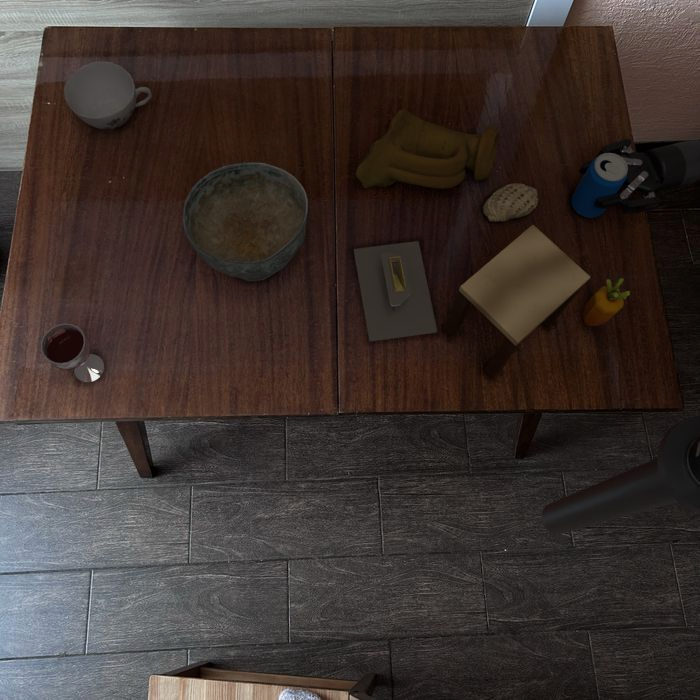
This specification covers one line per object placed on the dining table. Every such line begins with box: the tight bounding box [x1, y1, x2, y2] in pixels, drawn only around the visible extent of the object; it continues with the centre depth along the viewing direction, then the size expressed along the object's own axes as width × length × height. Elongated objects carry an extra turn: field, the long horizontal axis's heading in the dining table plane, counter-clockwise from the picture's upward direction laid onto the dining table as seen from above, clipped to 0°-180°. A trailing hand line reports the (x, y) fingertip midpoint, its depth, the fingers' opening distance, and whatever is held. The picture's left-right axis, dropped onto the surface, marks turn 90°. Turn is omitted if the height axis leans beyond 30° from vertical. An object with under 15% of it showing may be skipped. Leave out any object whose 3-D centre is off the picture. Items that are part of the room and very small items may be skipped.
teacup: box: [63, 60, 153, 130], centre depth 130 cm, size 15×12×8 cm
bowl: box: [182, 161, 309, 282], centre depth 118 cm, size 20×19×15 cm
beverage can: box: [570, 153, 628, 218], centre depth 124 cm, size 6×6×12 cm
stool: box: [441, 224, 591, 380], centre depth 113 cm, size 12×16×18 cm
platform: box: [353, 240, 438, 342], centre depth 120 cm, size 12×18×7 cm, turn 9°
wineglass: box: [40, 322, 105, 383], centre depth 111 cm, size 7×7×12 cm
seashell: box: [482, 182, 539, 223], centre depth 127 cm, size 8×6×10 cm
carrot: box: [583, 277, 631, 327], centre depth 115 cm, size 5×5×15 cm
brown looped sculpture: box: [355, 108, 500, 190], centre depth 126 cm, size 18×13×22 cm
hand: (588, 186), depth 123 cm, fingers closed on beverage can, 6 cm apart
